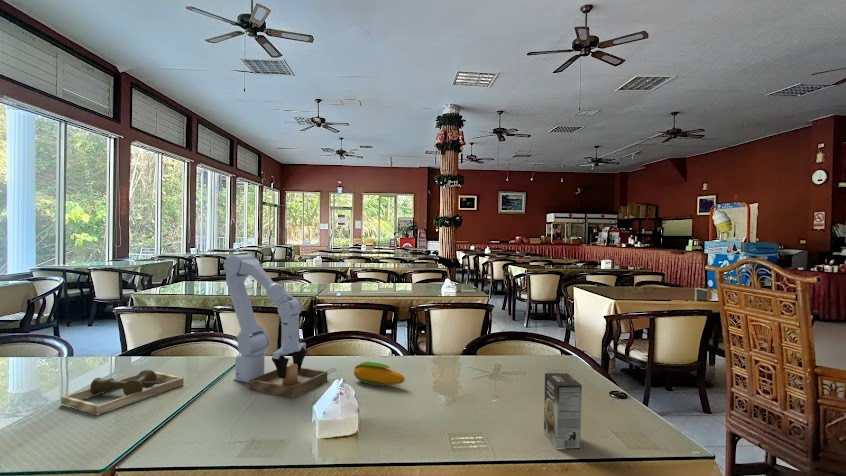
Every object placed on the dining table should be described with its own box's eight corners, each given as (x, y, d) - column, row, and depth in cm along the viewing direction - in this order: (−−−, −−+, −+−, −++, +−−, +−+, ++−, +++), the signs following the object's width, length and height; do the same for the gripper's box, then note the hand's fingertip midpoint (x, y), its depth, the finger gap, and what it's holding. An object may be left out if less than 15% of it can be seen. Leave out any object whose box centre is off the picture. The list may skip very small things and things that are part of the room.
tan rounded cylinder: (279, 383, 149) (279, 366, 149) (289, 379, 154) (289, 362, 154) (290, 386, 147) (290, 368, 147) (300, 381, 152) (300, 364, 151)
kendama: (104, 389, 143) (168, 386, 145) (84, 401, 134) (154, 398, 136) (103, 371, 143) (168, 368, 145) (83, 382, 133) (153, 378, 135)
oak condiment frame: (61, 405, 130) (61, 396, 130) (149, 377, 155) (149, 370, 155) (97, 415, 124) (97, 406, 124) (183, 384, 148) (183, 377, 148)
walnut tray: (249, 389, 146) (249, 379, 146) (286, 373, 162) (286, 364, 162) (293, 397, 139) (293, 388, 139) (327, 380, 155) (327, 371, 155)
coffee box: (542, 433, 117) (543, 372, 117) (566, 432, 118) (567, 372, 118) (555, 450, 108) (557, 384, 108) (581, 449, 109) (582, 384, 108)
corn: (361, 355, 159) (410, 363, 151) (361, 376, 160) (410, 385, 151) (349, 362, 153) (400, 371, 144) (349, 384, 153) (400, 394, 145)
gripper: (285, 340, 142) (284, 382, 142) (313, 331, 155) (312, 370, 155) (267, 338, 145) (267, 379, 145) (296, 329, 158) (296, 367, 158)
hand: (289, 374), depth 150 cm, fingers open, 7 cm apart
